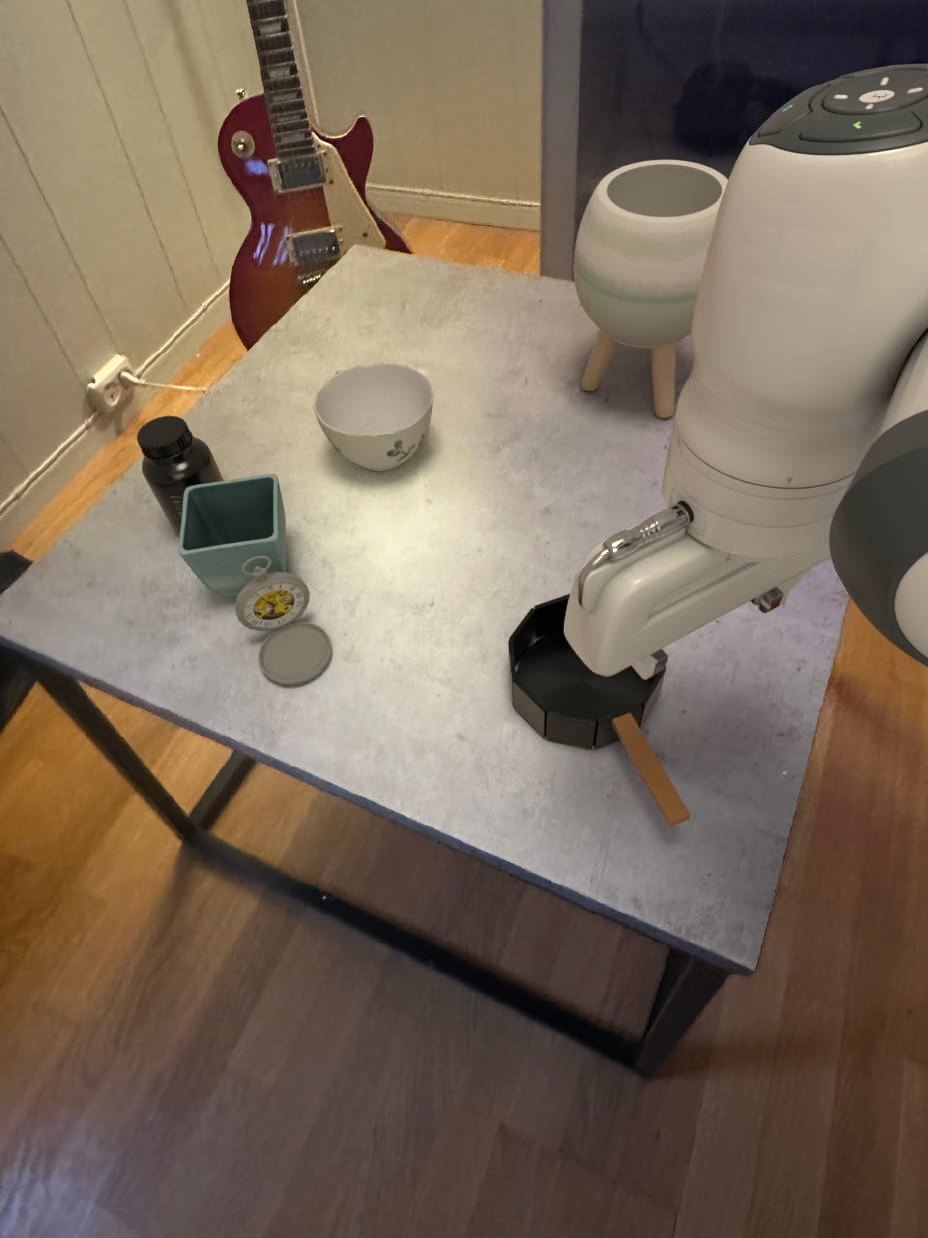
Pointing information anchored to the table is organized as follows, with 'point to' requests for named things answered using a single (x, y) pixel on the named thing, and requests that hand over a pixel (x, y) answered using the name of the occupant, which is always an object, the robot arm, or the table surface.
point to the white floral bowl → (375, 413)
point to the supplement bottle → (174, 463)
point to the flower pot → (233, 531)
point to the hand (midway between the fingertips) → (706, 633)
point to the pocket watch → (283, 626)
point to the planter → (645, 263)
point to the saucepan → (585, 700)
